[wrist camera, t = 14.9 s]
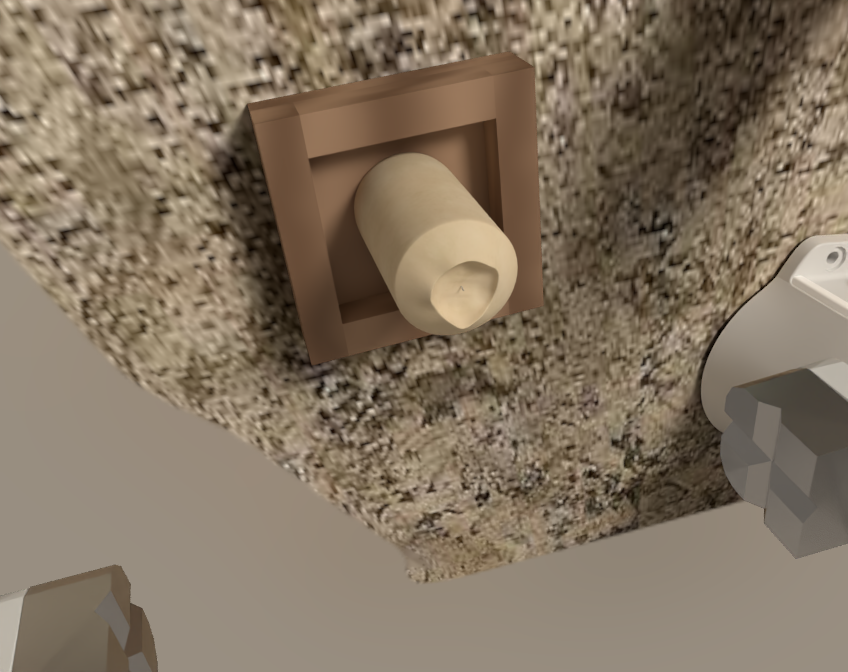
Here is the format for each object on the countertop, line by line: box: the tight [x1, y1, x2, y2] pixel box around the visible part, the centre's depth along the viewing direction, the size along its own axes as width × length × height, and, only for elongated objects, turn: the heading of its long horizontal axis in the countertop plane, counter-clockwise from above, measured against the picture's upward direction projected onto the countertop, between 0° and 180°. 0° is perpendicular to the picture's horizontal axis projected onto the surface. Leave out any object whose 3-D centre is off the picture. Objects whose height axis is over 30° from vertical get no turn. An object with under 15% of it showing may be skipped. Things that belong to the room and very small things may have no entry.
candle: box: [354, 152, 518, 335], centre depth 37 cm, size 6×6×10 cm
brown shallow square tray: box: [247, 51, 544, 365], centre depth 41 cm, size 13×13×3 cm
